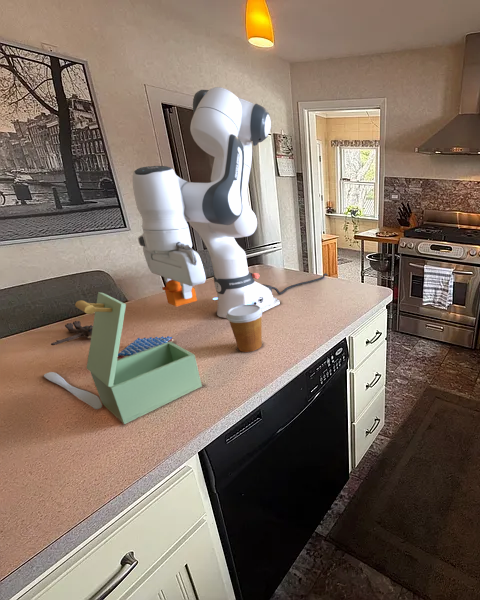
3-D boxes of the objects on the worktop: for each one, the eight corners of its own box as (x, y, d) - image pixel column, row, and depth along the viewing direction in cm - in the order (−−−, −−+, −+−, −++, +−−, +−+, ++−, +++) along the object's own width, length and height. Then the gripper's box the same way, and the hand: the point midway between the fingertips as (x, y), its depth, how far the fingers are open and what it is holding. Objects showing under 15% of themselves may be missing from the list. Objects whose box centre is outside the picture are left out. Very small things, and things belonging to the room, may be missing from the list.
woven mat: (115, 362, 88) (112, 355, 87) (137, 343, 98) (136, 337, 97) (157, 359, 89) (155, 352, 89) (175, 341, 99) (174, 335, 98)
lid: (103, 292, 68) (70, 290, 64) (126, 304, 62) (92, 303, 58) (91, 367, 69) (58, 371, 65) (113, 386, 63) (79, 391, 59)
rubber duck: (189, 297, 84) (184, 275, 82) (197, 300, 82) (192, 277, 80) (163, 304, 80) (157, 280, 77) (171, 307, 78) (165, 283, 75)
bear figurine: (104, 311, 112) (128, 315, 106) (108, 323, 113) (132, 327, 107) (32, 332, 96) (55, 338, 90) (38, 345, 98) (61, 352, 92)
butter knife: (57, 368, 83) (41, 373, 81) (109, 403, 71) (92, 411, 69) (58, 370, 83) (42, 376, 81) (110, 406, 72) (92, 413, 69)
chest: (178, 371, 84) (170, 341, 81) (202, 386, 78) (194, 354, 75) (102, 403, 72) (89, 369, 69) (124, 424, 66) (111, 388, 63)
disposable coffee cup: (233, 342, 99) (226, 306, 95) (266, 337, 103) (261, 301, 98) (231, 357, 91) (224, 318, 87) (268, 351, 94) (262, 313, 90)
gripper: (207, 243, 73) (217, 300, 78) (163, 234, 84) (174, 285, 88) (177, 247, 68) (190, 308, 73) (134, 237, 78) (148, 291, 83)
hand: (181, 295), depth 81 cm, fingers closed on rubber duck, 4 cm apart
